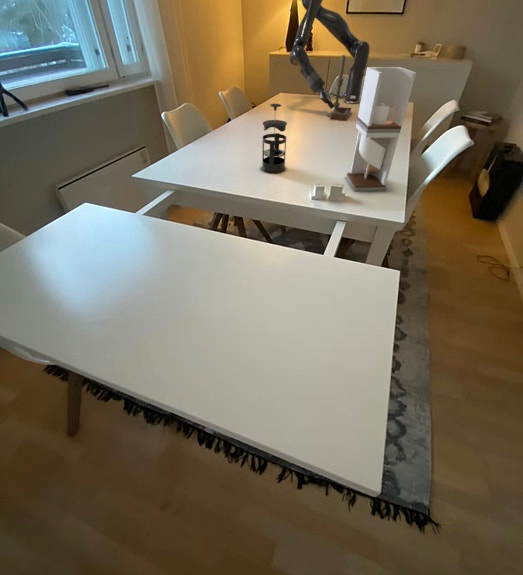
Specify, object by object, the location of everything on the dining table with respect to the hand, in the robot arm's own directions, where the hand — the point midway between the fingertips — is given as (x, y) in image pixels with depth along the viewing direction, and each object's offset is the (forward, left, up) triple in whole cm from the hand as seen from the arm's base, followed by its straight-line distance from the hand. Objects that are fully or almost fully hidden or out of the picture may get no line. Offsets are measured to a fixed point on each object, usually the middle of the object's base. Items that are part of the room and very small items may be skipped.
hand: (332, 107), depth 188 cm
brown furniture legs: (+3, +5, -4) cm, 7 cm away
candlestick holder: (+1, +1, -4) cm, 5 cm away
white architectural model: (+94, -30, -4) cm, 99 cm away
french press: (+71, -58, -4) cm, 92 cm away
